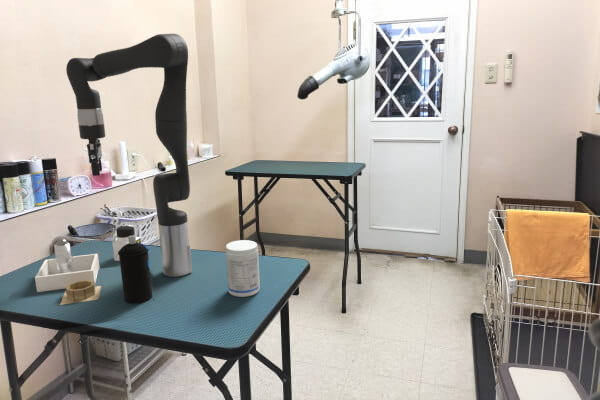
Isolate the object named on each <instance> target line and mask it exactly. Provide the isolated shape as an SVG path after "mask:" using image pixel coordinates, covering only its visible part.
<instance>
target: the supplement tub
mask: <svg viewBox="0 0 600 400" xmlns="http://www.w3.org/2000/svg"><path fill="white" fill-rule="evenodd" d="M259 259H260V258H259V247H258V243H257V242H255V241H253V240H249V239H241V240H234V241H233V240H232V241H231V242H228V243H227V244H226V245H225V263H226V264H225V265H226V277H227V290H228V293H229V294H230V295H231V296H233V297H238V298H245V297H246V298H247V297H250V296H254V295H256V294H257V293H258V292H260V289H261V286H260V285H261V284H260V265H259V264H260V263H259V262H260V260H259Z"/></svg>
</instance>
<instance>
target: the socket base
mask: <svg viewBox="0 0 600 400" xmlns="http://www.w3.org/2000/svg"><path fill="white" fill-rule="evenodd" d="M101 289H102V285H97V286H96V282H95V283H94V281H90V280H82V281H77V282H73V283H71V284H69V285H67V287H66V288H65V291H64V294H63V296H62V298H61V301H60V304H59V305H60V306H61V305H68V304H77V303H82V302H83V303H84V302H90V301H96V300H99V298H100V295H101Z"/></svg>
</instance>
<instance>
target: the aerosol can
mask: <svg viewBox="0 0 600 400" xmlns="http://www.w3.org/2000/svg"><path fill="white" fill-rule="evenodd" d="M136 237H137V236H136V234H135V235H131V236H128V240H129V243H128V244H126V245H125V246H123V247H122V248H121V249H120V250H119V251H118V255H119V259H120V261H119V264H120V265H119V266H120V274H121V283H122V289H123V298H124V299H123V300H124V302H125V303H126V304H130V305H137V304H143V303H146V302H149V301H150V300H152V298H153V302H154V301H155V299H154V297H153V287H152V279H151V278H152V276H151V270H150V258H149V257H150V256H149V251H150V249H149V247H147V245H145V244H144V243H142V242H141V243H137V242H136Z"/></svg>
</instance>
